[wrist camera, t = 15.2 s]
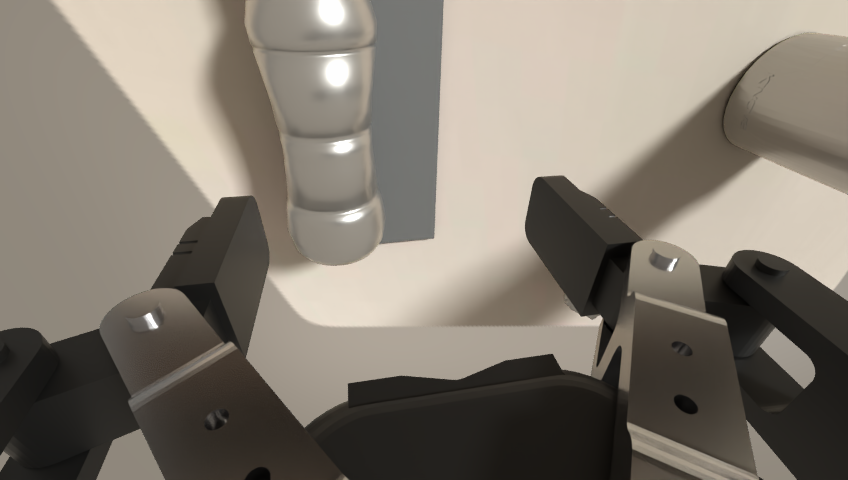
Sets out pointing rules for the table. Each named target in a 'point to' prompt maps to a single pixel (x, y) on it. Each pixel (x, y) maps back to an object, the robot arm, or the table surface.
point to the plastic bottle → (323, 120)
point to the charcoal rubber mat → (407, 114)
